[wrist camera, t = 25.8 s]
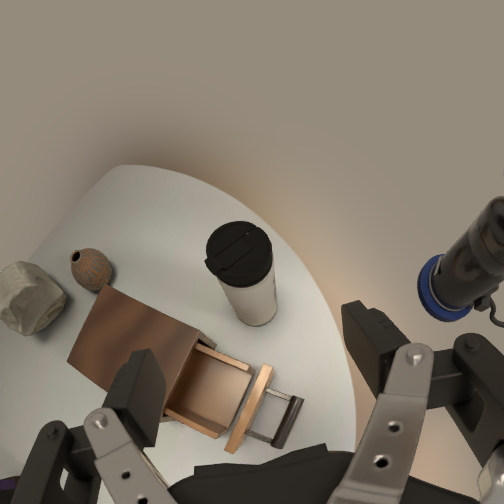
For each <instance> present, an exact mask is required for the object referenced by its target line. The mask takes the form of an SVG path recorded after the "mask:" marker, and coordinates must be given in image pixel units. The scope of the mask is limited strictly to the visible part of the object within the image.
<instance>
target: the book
mask: <svg viewBox="0 0 504 504" xmlns="http://www.w3.org/2000/svg"><path fill="white" fill-rule="evenodd" d="M19 479H20V476H13V477H9V478H5V479H1V480H0V504H10V503H11V500H12V498H13V495H14V492H15V489H16V487H17V484H18V481H19Z"/></svg>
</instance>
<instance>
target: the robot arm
mask: <svg viewBox="0 0 504 504" xmlns="http://www.w3.org/2000/svg"><path fill="white" fill-rule="evenodd" d="M503 280H504V196H499V197H495V198H494V199H492V200H491V201H490V202H489V203H488V204H487V205H486V207H485V208H484V209H483V210H482V212H481V213H480V214H479V215H478V217H477V218H476V219H475V220H474V221H473V223H472V224H471V225H470V227H469V228H468V229H467V230H466V231H465V232H464V233H463V235H462V236H461V237H460V238H459V239H458V240H457V242H456V243H455V244H454V245H453V246H452V247H451V248H450V249H449V251H447V253H446V254H445V255H444V256H443V257H442V255H441V256H440V257H439V260H438V262H437V263H436V264H435V265H434V266H433V267H432V268H431V270H430V272H429V275H428V289H429V292H430V295H431V297H432V299H433V300H434V302H435V303H436V304H437V305H438V306H439V307H440V308H442V309H443V310H445V311H448V312H458V311H460V310H462V309H464V308H466V309H469V308H471V307H472V306H474V309H475V310H478V311H481V312H482V311H484V310H486V309H488V308H489V307H491V312H490V320H491V321H492V322H493V323H494V324H495V325H497V326H499V327H503V328H504V322H501V321H498V320H497V319H496V318H495V317H494V314H495V312H496V306H495V303H494V302H493V300H492V298H491V294H492V293H494V292H495V291H496V290H497V289H498V288H499V283H501V282H502V281H503ZM341 313H342V324H343V336H344V341H345V345H346V347H347V350H348V351H349V353H350V355H351V357H352V358H353V360H354V362H355V364H356V365H357V367H358V369H359V370H360V372H361V374H362V375H363V377H364V379H365V381H366V382H367V384H368V386H369V387H370V389H371V391H372V393H373V395H374V396H375V398H376V400H377V401H376V403H375V406H374V409H373V411H372V414H371V416H370V419H369V421H368V424H367V426H366V429H365V431H364V434H363V436H362V438H361V441H360V443H359V446H358V448H357V450H356V452H355V453H353V452H347V451H328V450H327V447H326V444H325V443H323V444H319V445H316V446H312V447H308V448H304V449H300V450H296V451H292V452H290V453H287V454H285V455H283V456H281V457H278V458H276V459H273V460H271V461H268V462H266V463H263V464H260V465H247V464H231V463H222V464H213V465H203V466H194V475H192V476H189V477H187V478H184V479H182V480H180V481H178V482H177V483H175V484H173V485H172V486H170V485H169V484H168V483H167V481H166V480H165V479H164V478H163V476H162V475H161V474H160V473H159V471H158V470H157V469H156V467H155V466H154V465H153V463H152V462H151V461H150V459H149V458H148V456H147V455H146V454H145V453H144V451H143V449H144V447H155V443H156V437H157V432H158V427H159V422H160V417H161V413H162V408H163V403H164V398H165V394H166V388H167V386H166V380H165V377H164V374H163V372H162V370H161V368H160V366H159V364H158V362H157V360H156V358H155V356H154V353H153V352H152V350H151V349H149V348H148V349H141V350H135V351H133V352H132V353H131V355H130V358H129V360H128V362H127V363H124V364H123V366H122V367H121V368H120V369H119V370H118V371H117V373H116V375H115V377H114V381H113V382H112V384H111V388H110V389H109V391H108V393H107V396H106V398H105V400H104V403H103V405H102V408H99V409H96V410H94V411H92V412H91V413H90V414H89V415H88V416H87V417H86V418H85V420H84V424H83V425H82V426H78V427H74V428H70V429H68V428H67V426H66V425H65V424H64V423H63V422H62V421H58V420H56V421H52V422H49V423H47V424H46V425H45V426H44V427H43V428H42V429H41V430H40V432H39V434H38V436H37V439H36V441H35V443H34V445H33V448H32V450H31V452H30V454H29V457H28V459H27V461H26V464H25V466H24V469H23V471H22V474H21V476H20V479H19V481H18V484H17V487H16V489H15V492H14V495H13V498H12V500H11V503H10V504H97V500H98V495H99V490H100V485H101V480H103V482H104V484H105V486H106V488H107V490H108V492H109V494H110V496H111V497H112V499H113V501H114V503H115V504H504V355H503V354H502V353H501V352H500V351H498V349H497V348H495V347H494V346H493V345H492V344H491V343H490V342H489V341H488V340H487V339H486V338H485V337H483V336H482V335H480V334H476V333H466V334H463V335H460V336H459V337H458V338H457V339H456V340H455V342H454V346H453V349H447V350H442V351H434V352H433V351H432V349H431V348H430V347H428V346H427V345H424V344H421V343H411V342H410V341H409V340H408V339H407V338H406V336H405V335H404V334H403V333H402V332H401V331H400V330H399V329H398V328H397V327H396V326H395V325H394V323H393V322H392V321H391V320H390V319H389V318H388V317H387V316H386V315H385V313H383V312H382V311H379V310H377V309H375V308H371V309H367V308H366V307H365V306H364V305H363V304H362V303H361V302H360V300H357V301H354V302H351V303H347V304H343V305H342V306H341ZM444 406H445V408H446V410H447V411H448V413H449V414H450V416H451V417H452V419H453V420H454V422H455V423H456V425H457V426H458V428H459V430H460V432H461V433H462V435H463V436H464V438H465V440H466V441H467V443H468V445H469V446H470V448H471V449H472V451H473V453H474V455H475V456H476V458H477V460H478V461H479V463H480V465H481V466H482V470H481V472H480V474H479V476H478V480H477V484H478V488H479V492H480V498H479V501H477V500H476V499H474V498H472V497H469V496H466V495H462V494H459V493H456V492H453V491H450V490H447V489H444V488H441V487H439V486H436V485H433V484H430V483H428V482H425V481H422V480H420V479H417V478H415V477H412V476H410V475H409V473H410V470H411V466H412V463H413V460H414V456H415V453H416V449H417V445H418V442H419V438H420V434H421V430H422V425H423V421H424V416H425V412H426V410H427V409H433V408H439V407H444ZM63 468H65V469H66V470H67V471H68V472H69V473H68V477H67V480H66V483H65V487H64V490H62V488H61V486H60V478H61V474H62V471H63Z"/></svg>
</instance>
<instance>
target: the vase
mask: <svg viewBox="0 0 504 504" xmlns="http://www.w3.org/2000/svg"><path fill="white" fill-rule="evenodd" d="M70 260H71V270H72V274H73V276H74V278H75V280H76V281H77V282H78V284H80V285H81V286H82V287H84V288H86V289H88V290H100V289H102V288H103V286H104V284H108V283H109V281H110V279H111V275H112V268H111V265H110V262H109V260H108V259H107V257H106V256H105V255H104V254H103V253H101V252H100V251H98V250H95V249H91V248H86V249H83V250H75V251H74V252H73V253H72V254H71V257H70Z"/></svg>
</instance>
